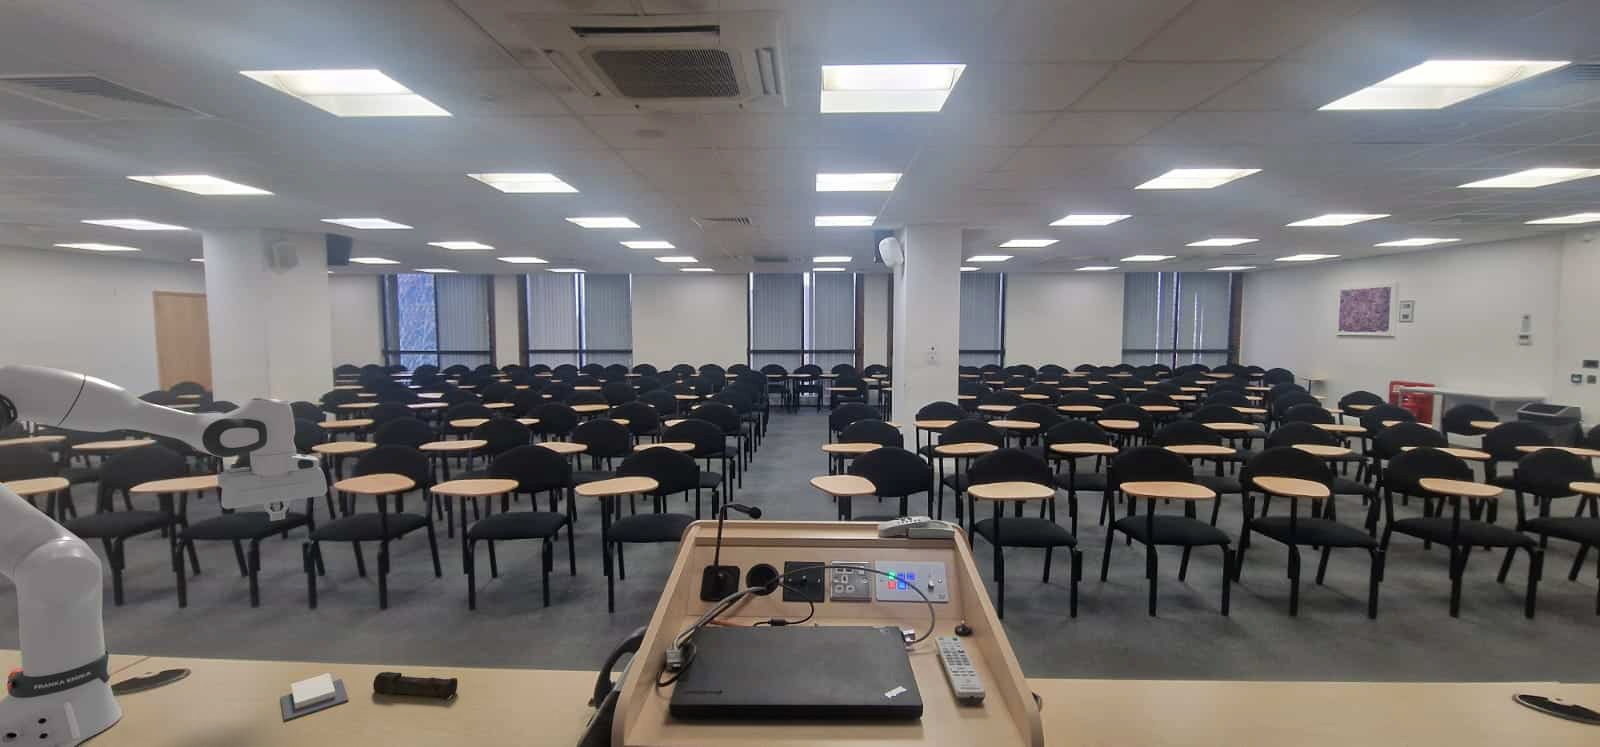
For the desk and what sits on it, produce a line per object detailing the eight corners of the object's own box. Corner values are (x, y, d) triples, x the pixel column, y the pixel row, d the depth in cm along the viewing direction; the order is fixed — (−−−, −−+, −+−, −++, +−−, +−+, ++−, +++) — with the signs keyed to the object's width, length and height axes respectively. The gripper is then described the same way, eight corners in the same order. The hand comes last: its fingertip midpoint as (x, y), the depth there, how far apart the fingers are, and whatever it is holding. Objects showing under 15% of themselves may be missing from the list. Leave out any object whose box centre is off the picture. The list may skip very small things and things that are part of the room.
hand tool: (459, 692, 146) (458, 672, 146) (447, 702, 142) (446, 681, 142) (383, 685, 149) (382, 666, 149) (369, 695, 145) (368, 675, 145)
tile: (291, 690, 146) (295, 710, 138) (291, 684, 146) (294, 703, 138) (329, 679, 151) (335, 697, 143) (329, 672, 150) (335, 691, 143)
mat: (284, 721, 135) (284, 719, 135) (280, 698, 143) (280, 697, 143) (348, 701, 142) (348, 699, 142) (341, 680, 151) (341, 678, 151)
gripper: (217, 472, 150) (221, 531, 151) (326, 459, 164) (329, 514, 165) (217, 467, 155) (221, 525, 156) (323, 456, 168) (326, 509, 170)
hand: (277, 519), depth 161 cm, fingers closed
